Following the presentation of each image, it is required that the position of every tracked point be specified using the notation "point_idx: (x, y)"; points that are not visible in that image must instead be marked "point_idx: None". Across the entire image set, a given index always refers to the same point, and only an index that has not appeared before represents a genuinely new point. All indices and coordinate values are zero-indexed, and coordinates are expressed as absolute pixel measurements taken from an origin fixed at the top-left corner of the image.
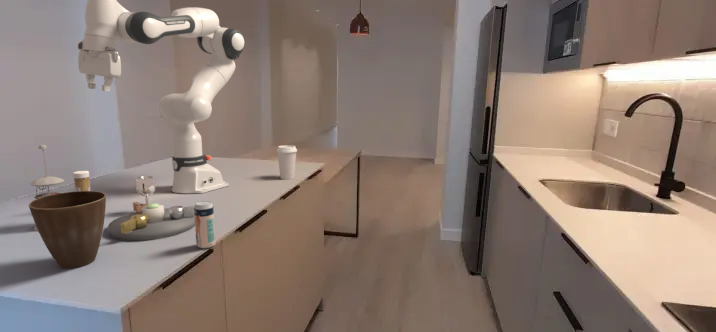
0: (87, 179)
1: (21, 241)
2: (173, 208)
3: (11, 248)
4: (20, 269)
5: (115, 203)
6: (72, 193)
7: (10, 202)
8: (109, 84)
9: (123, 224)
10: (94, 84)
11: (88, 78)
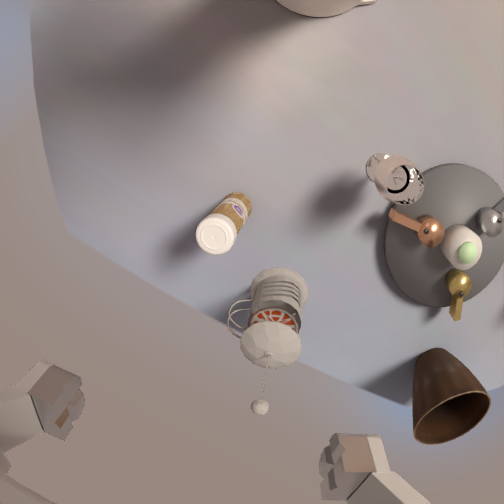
0: (235, 225)
1: (303, 348)
2: (492, 230)
3: (317, 365)
4: (386, 389)
5: (250, 142)
6: (435, 405)
7: (70, 228)
8: (396, 491)
9: (459, 319)
10: (58, 408)
11: (2, 445)
